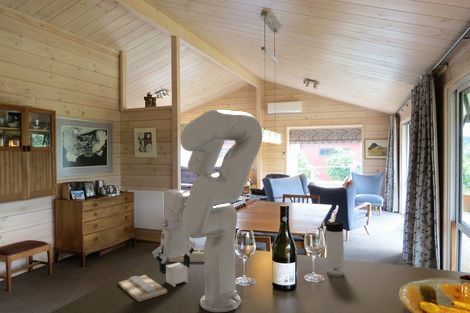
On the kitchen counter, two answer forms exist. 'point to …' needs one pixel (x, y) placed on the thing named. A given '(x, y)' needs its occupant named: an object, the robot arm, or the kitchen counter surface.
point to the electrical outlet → (195, 257)
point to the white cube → (176, 274)
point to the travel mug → (334, 249)
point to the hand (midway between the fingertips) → (175, 269)
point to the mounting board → (138, 292)
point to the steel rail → (142, 285)
